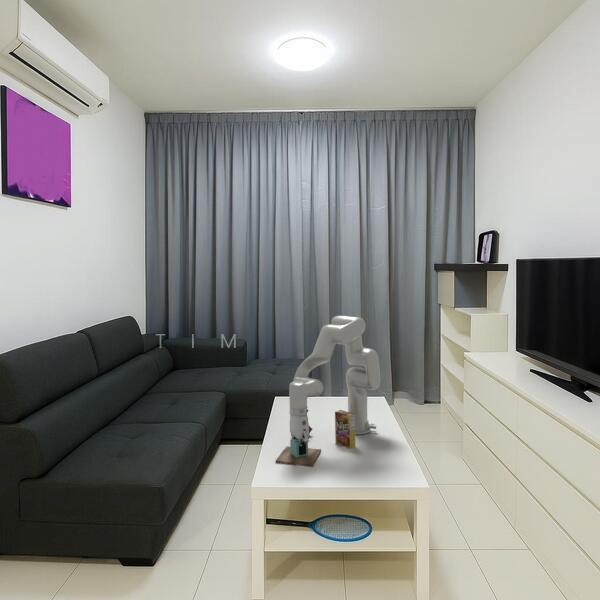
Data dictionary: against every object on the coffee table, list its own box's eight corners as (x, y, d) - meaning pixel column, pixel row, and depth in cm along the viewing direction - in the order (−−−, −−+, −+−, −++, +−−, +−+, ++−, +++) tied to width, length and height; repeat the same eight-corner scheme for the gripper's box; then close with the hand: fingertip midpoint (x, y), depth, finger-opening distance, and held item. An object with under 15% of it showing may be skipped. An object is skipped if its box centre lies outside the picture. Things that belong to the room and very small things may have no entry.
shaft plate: (321, 451, 203) (321, 441, 203) (312, 466, 188) (312, 456, 187) (286, 448, 207) (286, 438, 207) (275, 463, 192) (275, 452, 191)
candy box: (334, 443, 212) (334, 411, 211) (340, 441, 215) (340, 409, 214) (349, 448, 206) (349, 415, 205) (355, 446, 209) (355, 413, 208)
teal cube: (301, 450, 201) (301, 436, 201) (308, 455, 196) (307, 440, 196) (290, 452, 199) (290, 438, 198) (296, 457, 194) (296, 443, 193)
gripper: (316, 414, 190) (316, 457, 191) (296, 404, 205) (297, 443, 207) (300, 417, 187) (300, 461, 188) (281, 406, 202) (282, 446, 203)
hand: (299, 451), depth 197 cm, fingers closed on teal cube, 5 cm apart
